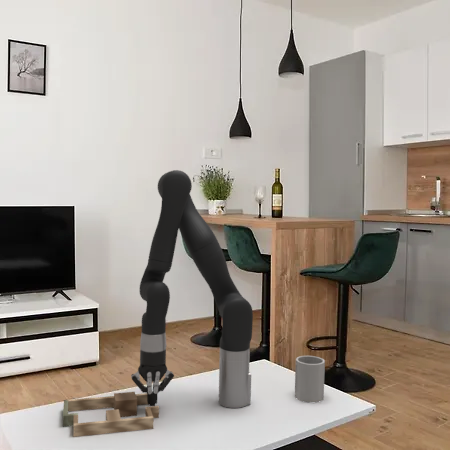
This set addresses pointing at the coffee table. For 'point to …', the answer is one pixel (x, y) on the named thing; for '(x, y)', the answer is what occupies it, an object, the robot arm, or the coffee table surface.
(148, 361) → the robot arm
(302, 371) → the cup
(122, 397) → the walnut block
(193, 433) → the coffee table surface
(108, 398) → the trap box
